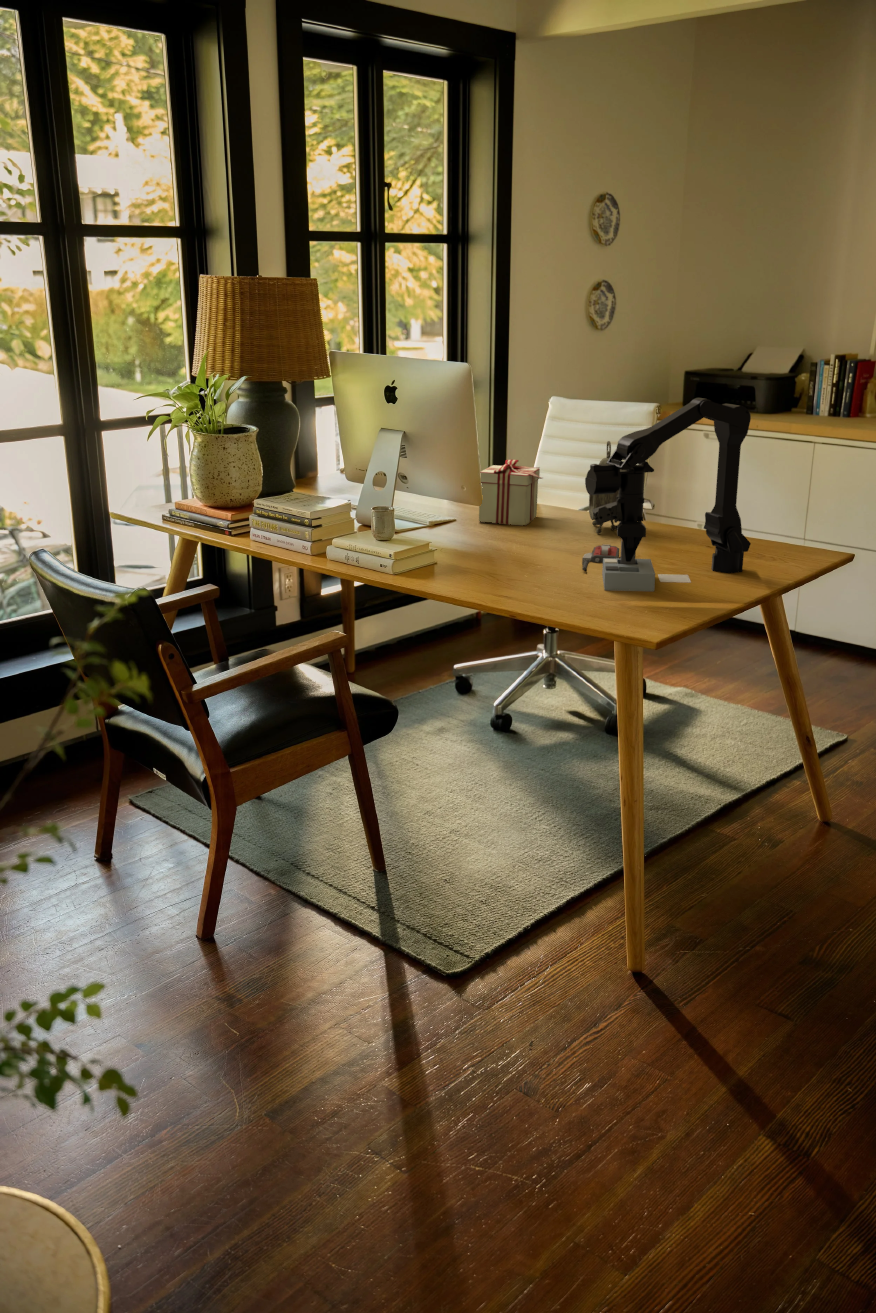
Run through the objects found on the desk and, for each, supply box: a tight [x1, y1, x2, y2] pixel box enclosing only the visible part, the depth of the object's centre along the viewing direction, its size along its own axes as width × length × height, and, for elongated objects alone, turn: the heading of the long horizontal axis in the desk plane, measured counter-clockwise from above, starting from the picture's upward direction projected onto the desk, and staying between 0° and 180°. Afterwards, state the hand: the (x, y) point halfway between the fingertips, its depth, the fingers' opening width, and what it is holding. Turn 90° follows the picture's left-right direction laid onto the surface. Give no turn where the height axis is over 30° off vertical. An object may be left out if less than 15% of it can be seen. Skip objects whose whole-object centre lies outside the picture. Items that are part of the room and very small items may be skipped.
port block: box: [601, 558, 656, 592], centre depth 248 cm, size 11×14×5 cm
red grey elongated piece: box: [581, 544, 620, 572], centre depth 269 cm, size 9×4×20 cm
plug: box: [619, 538, 637, 564], centre depth 249 cm, size 3×3×8 cm
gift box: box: [478, 459, 543, 526], centre depth 320 cm, size 17×18×17 cm
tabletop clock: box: [588, 440, 619, 535], centre depth 303 cm, size 14×9×25 cm, turn 178°
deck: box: [657, 573, 692, 584], centre depth 252 cm, size 7×7×1 cm
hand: (627, 559), depth 250 cm, fingers closed on plug, 3 cm apart
